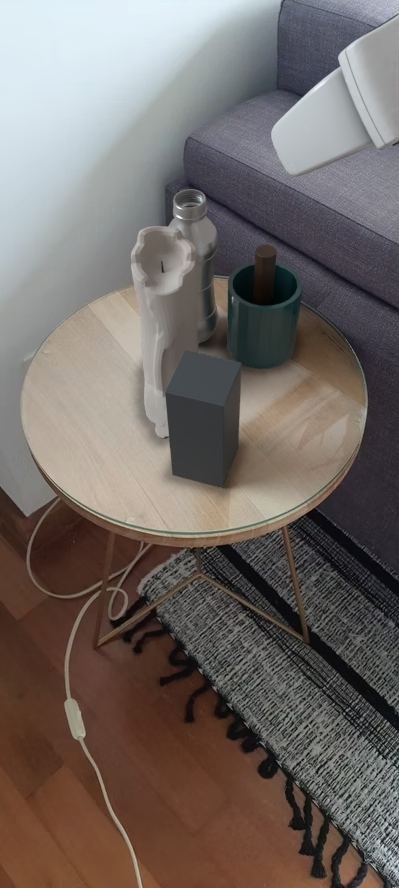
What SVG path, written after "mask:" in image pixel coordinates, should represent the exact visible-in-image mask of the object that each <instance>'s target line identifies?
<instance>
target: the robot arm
mask: <svg viewBox="0 0 399 888" xmlns="http://www.w3.org/2000/svg"><path fill="white" fill-rule="evenodd" d="M337 59H338V63H339V66H338V67H337V68H336V69H335V70H333V71H332V72H330V73H329V74H328V75H326V76H325V77H324V78H322V79H321V80H320V81H318V83H316V84H315V85H314V86H313V87H312V88H310V90H309V91H308V92H306V94H304V95H303V96H302V97H301V98H300V99H299V100H298V101H297V102H296V103H295V104H294V105H293V106H292V107H291V108H290V109H289V110H288V111H287V112H286V113H284V114H283V116H281V118H280V119H278V120H277V121H276V122H275V124H274V125H273V127H272V129H271V132H270V137H271V142H272V145H273V148H274V150H275V153H276V155H277V157H278V159H279V161H280V164H281V165H282V167H283V169H284V170H285V172H286V173H287V174H288V175H289V176H290V177H293V178H296V177H301V176H304V175H307V174H310V173H312V172H315V171H317V170H320V169H322V168H324V167H327V166H329V165H331V164H334V163H336V162H339V161H341V160H343V159H346V158H348V157H350V156H353V155H355V154H358V153H360V152H363V151H365V150H367V149H370V148H372V147H374V146H375V148H376V149H377V150H378V151H384V150H386V149H388V148H389V147H391V146H392V147H395V146H397V145H399V10H397V12H395V14H393V16H392V17H390V18H389V19H387V20H386V21H384V22H383V23H381V24H379V25H377V26H375V27H374V28H372V29H371V30H369V31H367V32H365V33H364V34H363V35H361V36H360V37H359V38H357V39H355V40H353V42H351V43H350V44H348V45H347V46H346V47H345V48H343V50H342V51H341V52H340V53H339V54H338V56H337Z"/></svg>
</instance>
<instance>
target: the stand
mask: <svg viewBox="0 0 399 888" xmlns="http://www.w3.org/2000/svg"><path fill="white" fill-rule="evenodd" d="M242 366H243V365H242V363H241V362H237V361H236V360H232V359H228V358H227V359H226V358H223V357H218V356H214V355H209V354H204V353H201V352H199V353H196V352H192V351H187V350H185V352H184V354H183V356H182V358H181V360H180V362H179V364H178V366H177V368H176V370H175V372H174V374H173V376H172V379H171V381H170V383H169V385H168V387H167V389H166V391H165V397H166V408H167V420H168V431H169V436H168V440H169V453H170V465H171V474H172V476H176V477H180V478H182V479H187V480H190V481H194V482H198V483H202V484H206V485H210V486H213V487H217V488H221V489H223V488H224V487H225V484H226V483H227V482H226V481H227V479H228V477H229V475H230V474H229V473H230V470H231V468H232V466H233V464H234V460H235V457H236V456H237V455H236V454H237V452H238V450H239V439H240V415H241V391H242V389H241V388H242V368H243V367H242Z"/></svg>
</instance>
